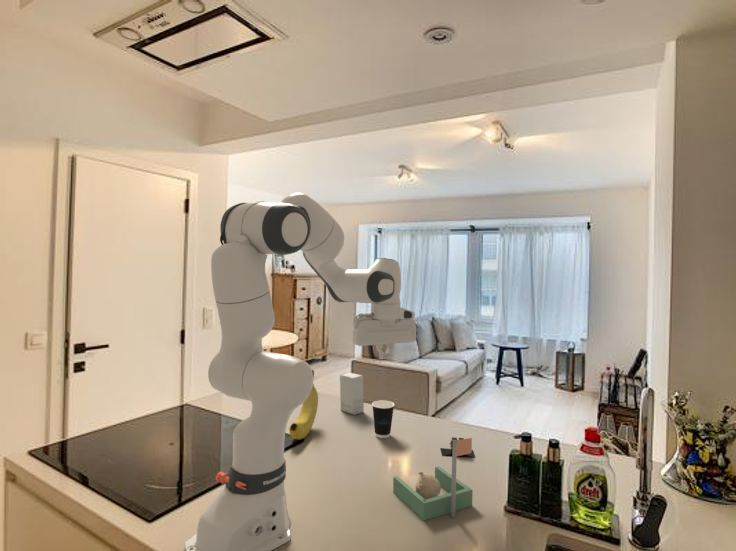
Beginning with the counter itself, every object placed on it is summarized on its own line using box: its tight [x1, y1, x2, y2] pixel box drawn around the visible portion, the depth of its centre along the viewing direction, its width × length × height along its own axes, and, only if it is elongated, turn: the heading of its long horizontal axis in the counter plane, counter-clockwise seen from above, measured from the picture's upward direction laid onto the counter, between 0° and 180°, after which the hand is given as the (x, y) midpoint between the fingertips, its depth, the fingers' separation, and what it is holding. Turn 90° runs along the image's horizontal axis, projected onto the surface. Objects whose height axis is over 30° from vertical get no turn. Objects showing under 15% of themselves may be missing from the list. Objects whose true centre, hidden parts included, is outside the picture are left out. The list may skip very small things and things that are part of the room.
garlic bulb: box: [415, 471, 442, 500], centre depth 108 cm, size 7×6×8 cm
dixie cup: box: [371, 400, 395, 439], centre depth 149 cm, size 8×8×11 cm
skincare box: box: [339, 372, 365, 416], centre depth 173 cm, size 8×6×15 cm
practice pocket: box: [392, 437, 474, 521], centre depth 107 cm, size 16×14×18 cm
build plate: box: [439, 437, 476, 459], centre depth 136 cm, size 13×8×5 cm, turn 85°
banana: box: [289, 369, 319, 440], centre depth 148 cm, size 23×6×20 cm, turn 171°
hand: (384, 358), depth 128 cm, fingers closed
